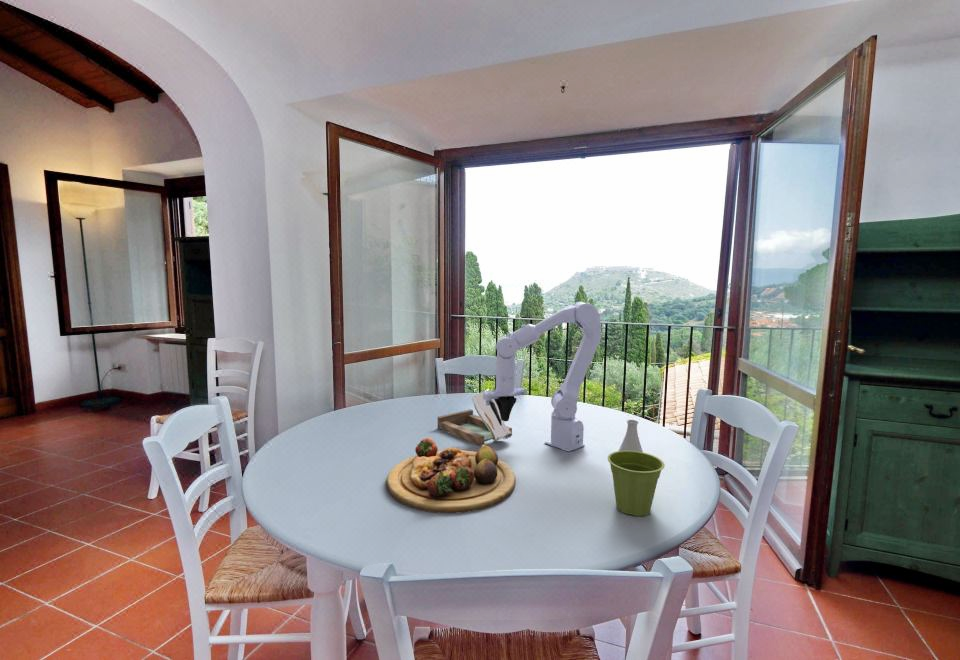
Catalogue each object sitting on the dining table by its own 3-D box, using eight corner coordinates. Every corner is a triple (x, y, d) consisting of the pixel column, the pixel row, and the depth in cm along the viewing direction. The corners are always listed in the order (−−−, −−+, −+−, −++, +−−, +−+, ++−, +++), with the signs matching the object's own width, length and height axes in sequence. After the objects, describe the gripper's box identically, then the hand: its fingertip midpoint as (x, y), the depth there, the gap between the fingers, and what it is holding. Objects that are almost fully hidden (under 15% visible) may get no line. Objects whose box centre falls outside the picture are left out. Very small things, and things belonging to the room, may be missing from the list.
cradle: (511, 435, 151) (512, 423, 151) (478, 445, 142) (478, 432, 141) (470, 420, 167) (470, 409, 166) (437, 428, 157) (437, 416, 157)
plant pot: (595, 508, 103) (597, 459, 102) (622, 492, 112) (624, 446, 111) (646, 529, 95) (648, 476, 94) (671, 509, 103) (673, 460, 102)
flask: (615, 456, 134) (617, 422, 133) (620, 448, 141) (622, 415, 140) (641, 461, 131) (643, 426, 130) (645, 452, 137) (647, 419, 136)
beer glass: (513, 432, 147) (492, 390, 151) (510, 432, 140) (488, 388, 144) (494, 442, 147) (473, 400, 151) (490, 443, 141) (468, 398, 145)
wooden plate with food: (377, 466, 126) (376, 437, 125) (487, 450, 137) (487, 423, 136) (400, 528, 96) (400, 491, 95) (538, 502, 108) (539, 468, 106)
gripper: (492, 381, 134) (491, 427, 135) (532, 376, 141) (531, 420, 143) (479, 377, 140) (479, 421, 141) (519, 372, 147) (518, 414, 149)
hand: (504, 420), depth 143 cm, fingers closed
